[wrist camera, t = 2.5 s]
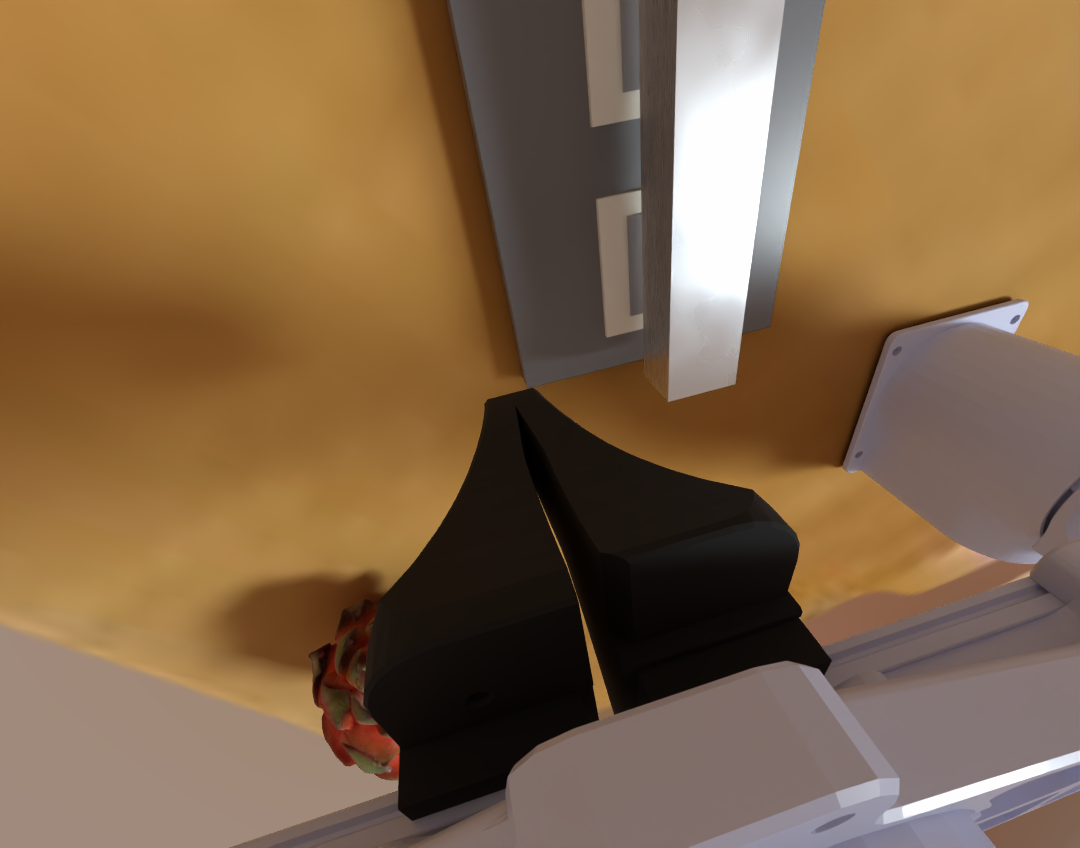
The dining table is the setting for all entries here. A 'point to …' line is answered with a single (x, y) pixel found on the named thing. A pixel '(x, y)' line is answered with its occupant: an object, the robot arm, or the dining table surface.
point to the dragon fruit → (351, 697)
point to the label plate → (595, 170)
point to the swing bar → (701, 180)
